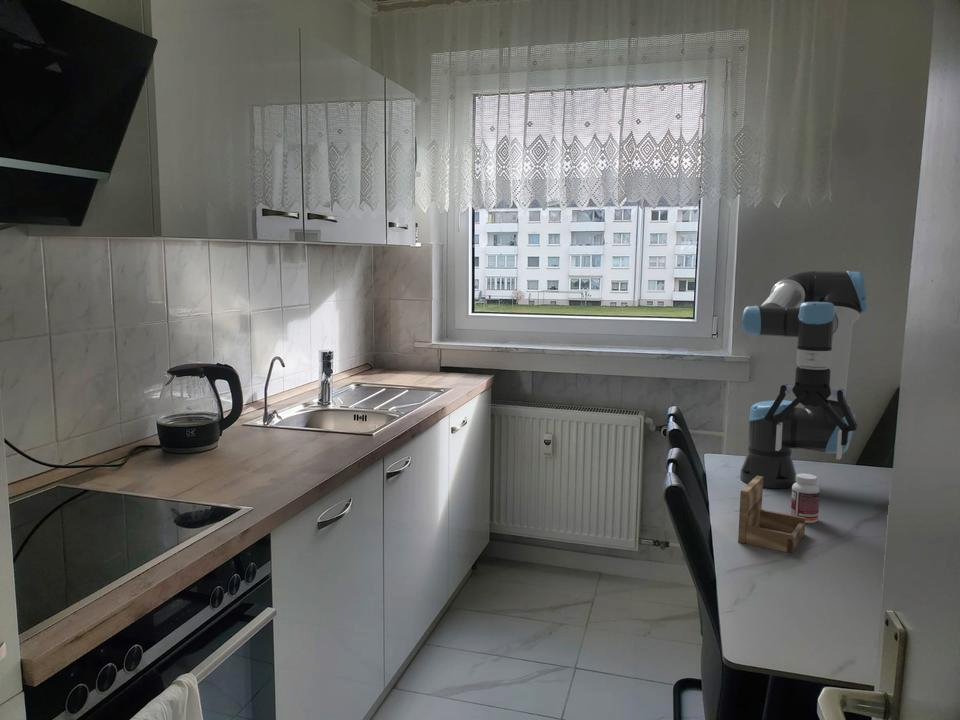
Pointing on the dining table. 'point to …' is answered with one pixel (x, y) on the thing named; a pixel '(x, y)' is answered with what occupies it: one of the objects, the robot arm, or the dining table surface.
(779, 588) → the dining table surface
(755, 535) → the brown wooden l-shaped frame
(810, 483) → the pill bottle
